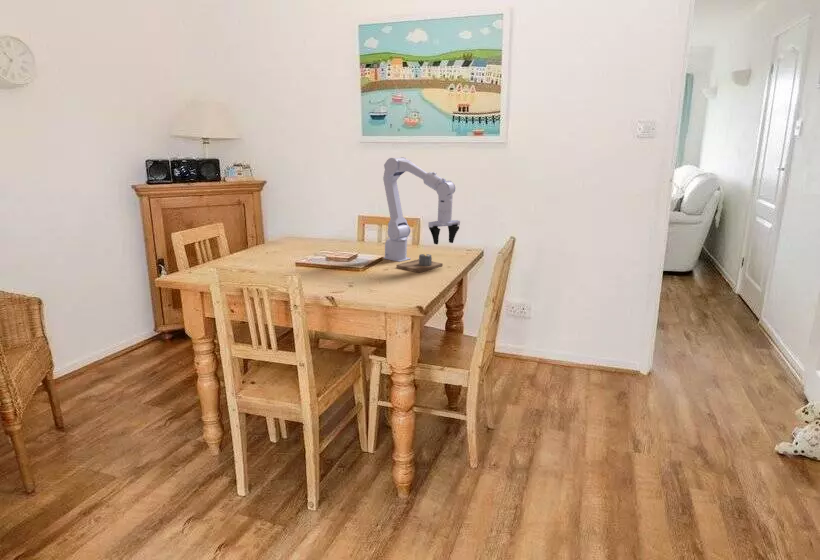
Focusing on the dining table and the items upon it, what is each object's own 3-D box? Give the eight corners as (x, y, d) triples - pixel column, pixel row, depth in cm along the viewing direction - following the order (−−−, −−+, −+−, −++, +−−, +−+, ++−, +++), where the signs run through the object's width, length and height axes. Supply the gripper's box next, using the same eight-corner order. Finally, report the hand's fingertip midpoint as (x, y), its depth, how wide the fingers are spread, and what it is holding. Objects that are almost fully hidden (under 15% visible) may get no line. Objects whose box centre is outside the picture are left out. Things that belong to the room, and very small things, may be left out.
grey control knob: (432, 266, 233) (432, 256, 232) (420, 266, 232) (420, 256, 231) (429, 263, 238) (430, 253, 237) (418, 263, 237) (418, 253, 236)
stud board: (396, 267, 234) (396, 258, 233) (420, 261, 246) (420, 252, 245) (419, 272, 226) (419, 263, 225) (442, 266, 238) (442, 257, 237)
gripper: (435, 213, 225) (434, 246, 229) (464, 211, 233) (463, 243, 236) (426, 210, 231) (424, 243, 235) (455, 209, 238) (453, 240, 242)
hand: (443, 243), depth 236 cm, fingers open, 7 cm apart
